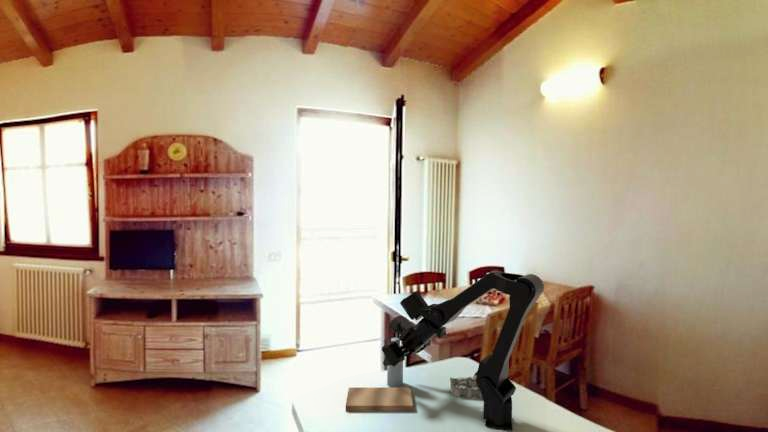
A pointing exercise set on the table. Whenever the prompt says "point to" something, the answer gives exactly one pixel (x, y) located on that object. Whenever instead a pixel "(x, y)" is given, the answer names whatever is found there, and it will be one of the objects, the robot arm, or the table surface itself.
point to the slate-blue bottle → (395, 372)
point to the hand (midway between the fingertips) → (391, 360)
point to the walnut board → (379, 399)
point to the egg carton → (465, 386)
